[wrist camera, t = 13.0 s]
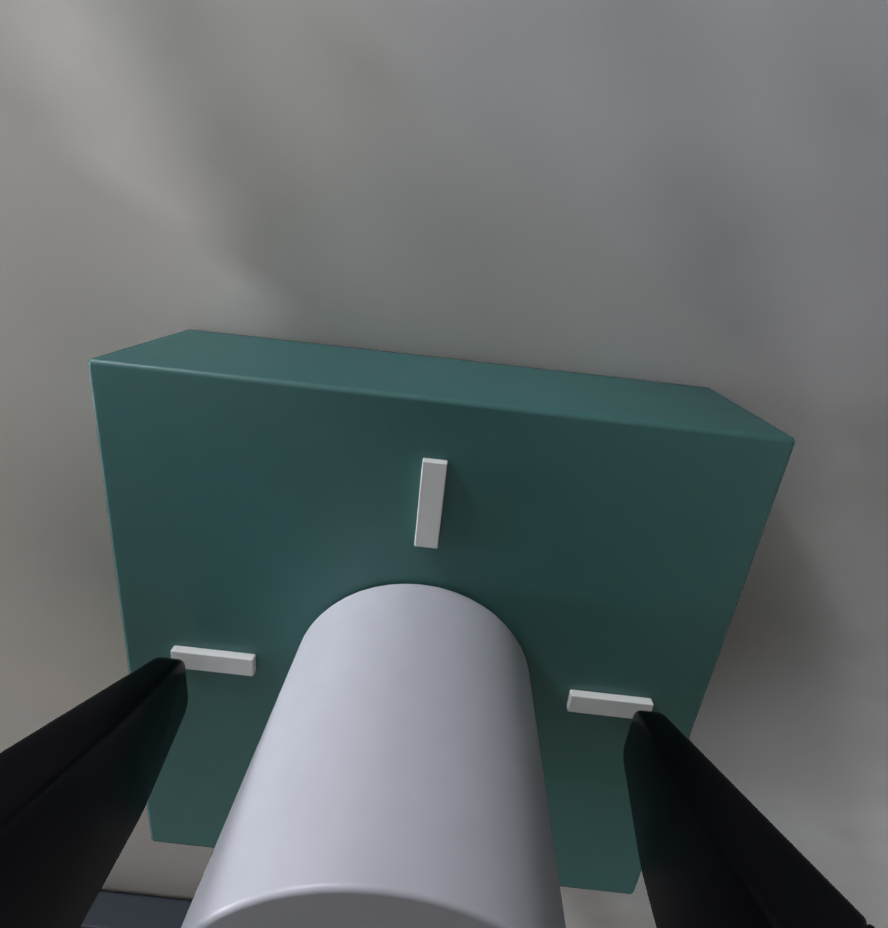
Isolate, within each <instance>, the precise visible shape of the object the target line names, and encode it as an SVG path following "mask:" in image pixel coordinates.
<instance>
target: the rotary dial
mask: <svg viewBox="0 0 888 928" xmlns="http://www.w3.org/2000/svg"><path fill="white" fill-rule="evenodd" d="M88 369H89V377H90V384H91V392H92V399H93V407H94V414H95V422H96V429H97V437H98V444H99V451H100V459H101V466H102V474H103V481H104V489H105V496H106V504H107V511H108V519H109V526H110V534H111V541H112V548H113V556H114V563H115V571H116V578H117V586H118V593H119V601H120V608H121V616H122V623H123V630H124V638H125V645H126V653H127V660H128V668H129V674H130V673H132V672H133V671H135V670H137V669H138V668H140V667H142V666H143V665H145V664H146V663H148V662H150V661H151V660H153V659H155V658H158V657H165V658H174V659H180V660H182V661H183V662H184V664H185V668H186V679H187V690H188V704H187V709H186V712H185V715H184V717H183V720H182V722H181V724H180V727H179V729H178V731H177V734H176V736H175V738H174V741H173V743H172V745H171V748H170V750H169V752H168V755H167V757H166V760H165V762H164V764H163V767H162V769H161V771H160V774H159V776H158V778H157V781H156V783H155V785H154V788H153V790H152V793H151V795H150V797H149V799H148V801H147V809H148V817H149V824H150V832H151V839H152V840H154V841H159V842H168V843H177V844H186V845H195V846H204V847H213V848H215V846H216V843H217V841H218V838H219V836H220V834H221V831H222V829H223V827H224V824H225V822H226V819H227V817H228V815H229V812H230V810H231V808H232V805H233V803H234V800H235V798H236V796H237V793H238V791H239V789H240V786H241V784H242V781H243V779H244V777H245V774H246V772H247V770H248V767H249V765H250V762H251V760H252V758H253V755H254V753H255V751H256V748H257V746H258V743H259V741H260V739H261V736H262V734H263V731H264V729H265V727H266V724H267V722H268V720H269V717H270V715H271V712H272V710H273V708H274V705H275V703H276V701H277V698H278V696H279V693H280V691H281V689H282V686H283V684H284V682H285V679H286V677H287V674H288V672H289V670H290V667H291V665H292V663H293V660H294V658H295V655H296V653H297V651H298V648H299V646H300V644H301V642H302V639H303V637H304V635H305V634H306V632H307V631H308V629H309V628H310V626H311V625H312V624H313V623H314V621H315V620H316V619H317V618H318V617H319V616H320V615H321V614H322V613H323V612H325V611H326V610H327V609H328V608H330V607H331V606H332V605H334V604H335V603H337V602H339V601H340V600H342V599H344V598H346V597H348V596H350V595H352V594H355V593H357V592H359V591H363V590H366V589H369V588H373V587H378V586H384V585H389V584H422V585H428V586H434V587H439V588H443V589H446V590H450V591H453V592H456V593H458V594H461V595H463V596H466V597H468V598H470V599H472V600H474V601H475V602H477V603H479V604H481V605H482V606H484V607H485V608H487V609H488V610H489V611H491V612H492V613H493V614H495V615H496V616H497V617H498V618H499V619H500V620H501V621H502V622H503V623H504V624H505V625H506V626H507V627H508V629H509V630H510V631H511V632H512V634H513V635H514V636H515V638H516V639H517V641H518V643H519V645H520V646H521V648H522V650H523V653H524V655H525V658H526V661H527V665H528V670H529V675H530V682H531V689H532V696H533V703H534V710H535V717H536V724H537V731H538V738H539V745H540V752H541V759H542V766H543V773H544V780H545V787H546V794H547V801H548V808H549V815H550V822H551V829H552V836H553V843H554V850H555V857H556V864H557V871H558V878H559V885H560V886H563V887H572V888H581V889H590V890H599V891H608V892H617V893H626V894H631V893H633V892H634V889H635V886H636V883H637V881H638V878H639V875H640V872H641V865H640V860H639V854H638V849H637V843H636V837H635V831H634V824H633V818H632V812H631V806H630V800H629V793H628V787H627V781H626V775H625V769H624V762H623V749H624V744H625V741H626V738H627V734H628V731H629V728H630V725H631V721H632V718H633V715H634V714H635V712H636V711H639V710H643V711H652V712H659V713H662V714H663V715H665V716H666V717H667V718H668V719H669V720H670V721H671V722H672V723H673V724H674V725H675V726H676V727H677V728H678V729H679V730H680V731H681V732H682V733H683V734H684V735H685V736H686V737H687V738H688V739H689V736H690V733H691V730H692V727H693V725H694V722H695V719H696V716H697V713H698V711H699V708H700V705H701V702H702V700H703V697H704V694H705V691H706V688H707V686H708V683H709V680H710V677H711V674H712V672H713V669H714V666H715V663H716V661H717V658H718V655H719V652H720V649H721V647H722V644H723V641H724V638H725V635H726V633H727V630H728V627H729V624H730V622H731V619H732V616H733V613H734V610H735V608H736V605H737V602H738V599H739V596H740V594H741V591H742V588H743V585H744V583H745V580H746V577H747V574H748V571H749V569H750V566H751V563H752V560H753V557H754V555H755V552H756V549H757V546H758V544H759V541H760V538H761V535H762V532H763V530H764V527H765V524H766V521H767V519H768V516H769V513H770V510H771V507H772V505H773V502H774V499H775V496H776V493H777V491H778V488H779V485H780V482H781V480H782V477H783V474H784V471H785V468H786V466H787V463H788V460H789V457H790V454H791V452H792V449H793V446H794V438H793V437H791V436H789V435H788V434H786V433H784V432H782V431H781V430H779V429H777V428H776V427H774V426H772V425H771V424H769V423H767V422H765V421H764V420H762V419H760V418H759V417H757V416H755V415H754V414H752V413H750V412H749V411H747V410H745V409H743V408H742V407H740V406H738V405H737V404H735V403H733V402H732V401H730V400H728V399H726V398H725V397H723V396H721V395H720V394H718V393H716V392H715V391H713V390H711V389H710V388H705V387H696V386H687V385H678V384H669V383H660V382H651V381H643V380H634V379H625V378H616V377H607V376H598V375H589V374H580V373H571V372H562V371H553V370H544V369H536V368H527V367H518V366H509V365H500V364H491V363H482V362H473V361H464V360H455V359H446V358H438V357H429V356H420V355H411V354H402V353H393V352H384V351H375V350H366V349H357V348H348V347H340V346H331V345H322V344H313V343H304V342H295V341H286V340H277V339H268V338H259V337H250V336H241V335H233V334H224V333H215V332H206V331H197V330H185V331H182V332H179V333H175V334H172V335H169V336H165V337H162V338H159V339H155V340H152V341H149V342H145V343H142V344H139V345H135V346H132V347H129V348H125V349H122V350H119V351H115V352H112V353H109V354H105V355H102V356H99V357H95V358H92V359H90V360H89V361H88Z"/></svg>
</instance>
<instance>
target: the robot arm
mask: <svg viewBox="0 0 888 928" xmlns="http://www.w3.org/2000/svg"><path fill="white" fill-rule="evenodd" d="M187 704H188V690H187V679H186V668H185V664H184V662H183V661H182V660H180V659H174V658H165V657H158V658H155V659H153V660H151V661H150V662H148V663H146V664H145V665H143V666H142V667H140V668H138V669H137V670H135V671H133V672H132V673H130V674H128V675H127V676H125V677H124V678H122V679H120V680H119V681H117V682H115V683H114V684H112V685H110V686H109V687H107V688H106V689H104V690H102V691H101V692H99V693H97V694H96V695H94V696H93V697H91V698H89V699H88V700H86V701H84V702H83V703H81V704H79V705H78V706H76V707H75V708H73V709H71V710H70V711H68V712H66V713H65V714H63V715H61V716H60V717H58V718H57V719H55V720H53V721H52V722H50V723H48V724H47V725H45V726H44V727H42V728H40V729H39V730H37V731H35V732H34V733H32V734H30V735H29V736H27V737H26V738H24V739H22V740H21V741H19V742H17V743H16V744H14V745H12V746H11V747H9V748H8V749H6V750H4V751H3V752H1V753H0V928H80V927H81V925H82V923H83V921H84V919H85V917H86V916H87V914H88V912H89V910H90V908H91V906H92V905H93V903H94V901H95V899H96V897H97V895H98V894H99V892H100V890H101V888H102V886H103V884H104V883H105V881H106V879H107V877H108V875H109V873H110V871H111V870H112V868H113V866H114V864H115V862H116V860H117V859H118V857H119V855H120V853H121V851H122V849H123V848H124V846H125V844H126V842H127V840H128V838H129V837H130V835H131V833H132V831H133V829H134V827H135V826H136V824H137V822H138V820H139V818H140V816H141V814H142V812H143V810H144V808H145V806H146V804H147V801H148V799H149V797H150V795H151V793H152V790H153V788H154V785H155V783H156V781H157V778H158V776H159V774H160V771H161V769H162V767H163V764H164V762H165V760H166V757H167V755H168V752H169V750H170V748H171V745H172V743H173V741H174V738H175V736H176V734H177V731H178V729H179V727H180V724H181V722H182V720H183V717H184V715H185V712H186V709H187ZM623 762H624V769H625V775H626V781H627V787H628V793H629V800H630V806H631V812H632V818H633V824H634V831H635V837H636V843H637V849H638V854H639V860H640V865H641V869H642V873H643V878H644V882H645V886H646V889H647V893H648V897H649V901H650V904H651V908H652V912H653V916H654V920H655V923H656V927H657V928H875V927H874V926H872V925H870V924H868V925H867V922H866V919H865V918H864V917H863V916H862V914H861V913H860V912H859V911H858V910H857V909H856V908H855V907H854V906H853V905H852V904H851V903H850V902H849V901H848V900H847V899H846V898H845V897H844V896H843V895H842V894H841V893H840V892H839V891H838V890H837V889H836V888H835V887H834V886H833V885H832V884H831V883H830V882H829V881H828V880H827V879H826V878H825V877H824V876H823V875H822V874H821V873H820V872H819V871H818V870H817V869H816V868H815V867H814V866H813V865H812V864H811V863H810V862H809V861H808V860H807V859H806V858H805V857H804V856H803V855H802V854H801V853H800V852H799V851H798V850H797V849H796V848H795V847H794V846H793V845H792V844H791V843H790V842H789V841H788V840H787V839H786V838H785V837H784V836H783V835H782V834H781V833H780V831H779V830H778V829H777V828H776V827H775V826H774V825H773V824H772V823H771V822H770V821H769V820H768V819H767V818H766V817H765V816H764V815H763V814H762V813H761V812H760V811H759V810H758V809H757V808H756V807H755V806H754V805H753V804H752V803H751V802H750V801H749V800H748V799H747V798H746V797H745V796H744V795H743V794H742V793H741V792H740V791H739V790H738V789H737V788H736V787H735V786H734V785H733V784H732V783H731V782H730V781H729V780H728V779H727V778H726V777H725V776H724V775H723V774H722V773H721V772H720V771H719V770H718V769H717V768H716V767H715V766H714V765H713V764H712V763H711V762H710V761H709V760H708V759H707V758H706V757H705V756H704V755H703V754H702V753H701V752H700V751H699V749H698V748H697V747H696V746H695V745H694V744H693V743H692V742H691V741H690V740H689V739H688V738H687V737H686V736H685V735H684V734H683V733H682V732H681V731H680V730H679V729H678V728H677V727H676V726H675V725H674V724H673V723H672V722H671V721H670V720H669V719H668V718H667V717H666V716H665V715H663V714H662V713H659V712H652V711H643V710H639V711H636V712H635V714H634V715H633V718H632V721H631V725H630V728H629V731H628V734H627V738H626V741H625V744H624V749H623Z"/></svg>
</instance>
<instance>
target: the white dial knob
mask: <svg viewBox="0 0 888 928" xmlns="http://www.w3.org/2000/svg"><path fill="white" fill-rule="evenodd" d="M181 928H566V926H565V919H564V912H563V905H562V898H561V891H560V885H559V878H558V871H557V864H556V857H555V850H554V843H553V836H552V829H551V822H550V815H549V808H548V801H547V794H546V787H545V780H544V773H543V766H542V759H541V752H540V745H539V738H538V731H537V724H536V717H535V710H534V703H533V696H532V689H531V682H530V675H529V670H528V665H527V661H526V658H525V655H524V653H523V650H522V648H521V646H520V645H519V643H518V641H517V639H516V638H515V636H514V635H513V634H512V632H511V631H510V630H509V629H508V627H507V626H506V625H505V624H504V623H503V622H502V621H501V620H500V619H499V618H498V617H497V616H496V615H495V614H493V613H492V612H491V611H489V610H488V609H487V608H485V607H484V606H482V605H481V604H479V603H477V602H475V601H474V600H472V599H470V598H468V597H466V596H463V595H461V594H458V593H456V592H453V591H450V590H446V589H443V588H439V587H434V586H428V585H422V584H389V585H384V586H378V587H373V588H369V589H366V590H363V591H359V592H357V593H355V594H352V595H350V596H348V597H346V598H344V599H342V600H340V601H339V602H337V603H335V604H334V605H332V606H331V607H330V608H328V609H327V610H326V611H325V612H323V613H322V614H321V615H320V616H319V617H318V618H317V619H316V620H315V621H314V623H313V624H312V625H311V626H310V628H309V629H308V631H307V632H306V634H305V635H304V637H303V639H302V642H301V644H300V646H299V648H298V651H297V653H296V655H295V658H294V660H293V663H292V665H291V667H290V670H289V672H288V674H287V677H286V679H285V682H284V684H283V686H282V689H281V691H280V693H279V696H278V698H277V701H276V703H275V705H274V708H273V710H272V712H271V715H270V717H269V720H268V722H267V724H266V727H265V729H264V731H263V734H262V736H261V739H260V741H259V743H258V746H257V748H256V751H255V753H254V755H253V758H252V760H251V762H250V765H249V767H248V770H247V772H246V774H245V777H244V779H243V781H242V784H241V786H240V789H239V791H238V793H237V796H236V798H235V800H234V803H233V805H232V808H231V810H230V812H229V815H228V817H227V819H226V822H225V824H224V827H223V829H222V831H221V834H220V836H219V838H218V841H217V843H216V846H215V848H214V850H213V853H212V855H211V857H210V860H209V862H208V865H207V867H206V869H205V872H204V874H203V876H202V879H201V881H200V884H199V886H198V888H197V891H196V893H195V895H194V898H193V900H192V903H191V905H190V907H189V910H188V912H187V914H186V917H185V919H184V922H183V924H182V926H181Z"/></svg>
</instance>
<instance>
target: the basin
mask: <svg viewBox="0 0 888 928" xmlns="http://www.w3.org/2000/svg"><path fill="white" fill-rule="evenodd" d="M191 903H192V901H186V900H177V899H168V898H159V897H150V896H141V895H132V894H123V893H114V892H106V891H100V892H99V894H98V895H97V897H96V899H95V901H94V903H93V905H92V906H91V908H90V910H89V912H88V914H87V916H86V917H85V919H84V921H83V923H82V925H81V927H80V928H181V926H182V924H183V922H184V919H185V917H186V914H187V912H188V910H189V907H190V905H191Z"/></svg>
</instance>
